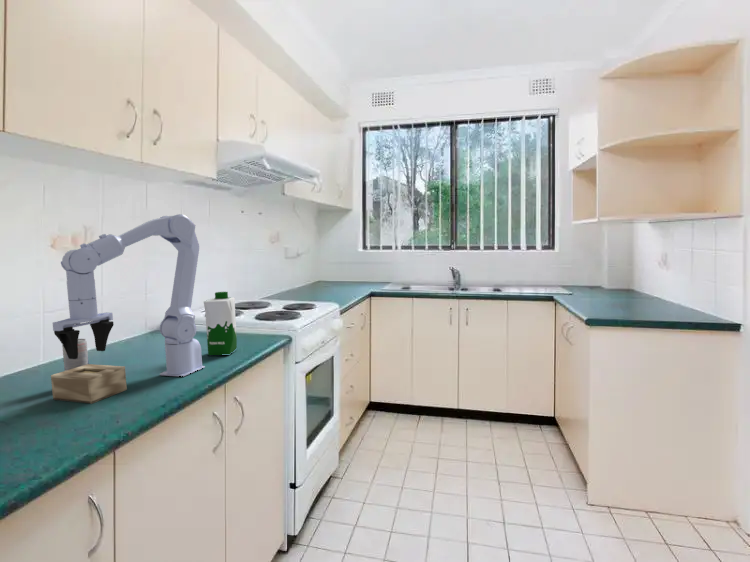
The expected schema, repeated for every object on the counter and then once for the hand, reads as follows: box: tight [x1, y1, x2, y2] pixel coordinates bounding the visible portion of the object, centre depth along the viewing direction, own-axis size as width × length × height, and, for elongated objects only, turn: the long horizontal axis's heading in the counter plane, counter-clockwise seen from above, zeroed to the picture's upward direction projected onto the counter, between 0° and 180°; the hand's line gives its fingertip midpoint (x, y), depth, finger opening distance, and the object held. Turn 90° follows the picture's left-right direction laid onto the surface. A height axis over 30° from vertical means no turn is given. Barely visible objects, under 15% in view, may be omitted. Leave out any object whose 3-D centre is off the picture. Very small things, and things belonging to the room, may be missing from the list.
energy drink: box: [61, 338, 90, 371], centre depth 121 cm, size 5×5×12 cm
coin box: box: [50, 363, 128, 404], centre depth 113 cm, size 10×12×6 cm
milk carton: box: [203, 291, 238, 356], centre depth 151 cm, size 9×9×20 cm
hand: (87, 354), depth 113 cm, fingers open, 7 cm apart
